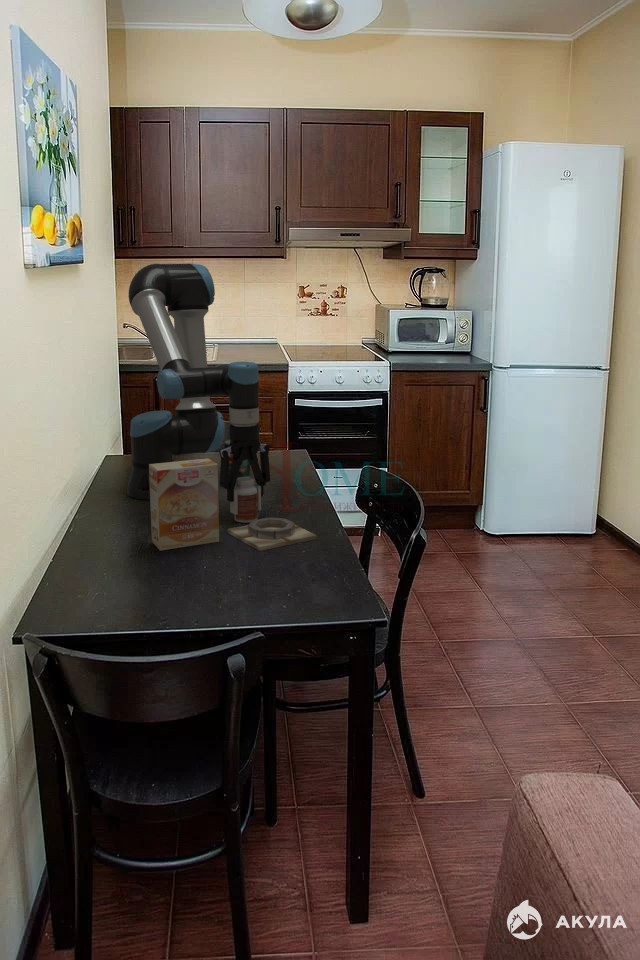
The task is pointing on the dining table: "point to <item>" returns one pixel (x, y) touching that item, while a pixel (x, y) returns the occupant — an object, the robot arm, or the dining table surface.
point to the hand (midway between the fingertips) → (245, 510)
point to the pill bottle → (246, 500)
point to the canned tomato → (244, 467)
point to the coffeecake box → (184, 503)
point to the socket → (271, 533)
